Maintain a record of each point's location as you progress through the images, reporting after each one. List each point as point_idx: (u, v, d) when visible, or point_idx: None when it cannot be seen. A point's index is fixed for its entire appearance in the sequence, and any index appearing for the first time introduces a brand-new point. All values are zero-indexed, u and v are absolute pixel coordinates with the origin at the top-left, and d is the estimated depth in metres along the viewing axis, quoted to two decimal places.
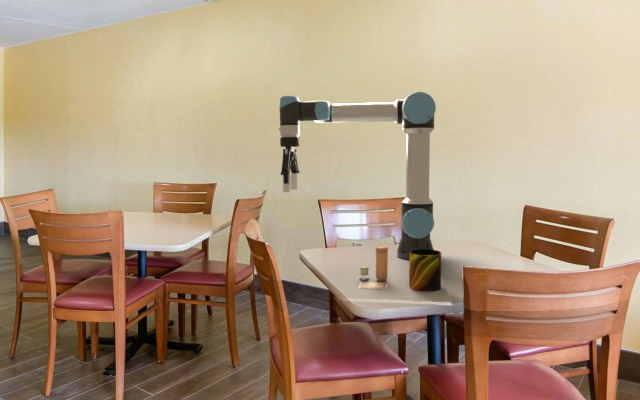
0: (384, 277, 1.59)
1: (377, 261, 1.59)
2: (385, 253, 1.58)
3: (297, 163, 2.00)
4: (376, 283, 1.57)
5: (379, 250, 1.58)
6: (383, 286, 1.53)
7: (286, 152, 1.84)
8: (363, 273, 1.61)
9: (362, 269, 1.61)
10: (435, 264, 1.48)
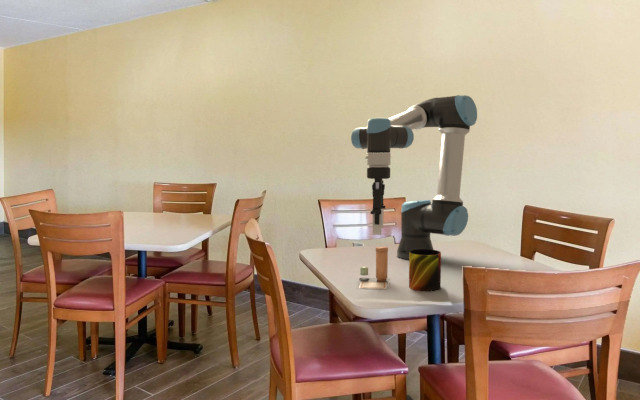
0: (384, 277, 1.59)
1: (377, 261, 1.59)
2: (385, 253, 1.58)
3: None
4: (376, 283, 1.57)
5: (379, 250, 1.58)
6: (383, 286, 1.53)
7: (377, 186, 1.52)
8: (363, 273, 1.61)
9: (362, 269, 1.61)
10: (435, 264, 1.48)
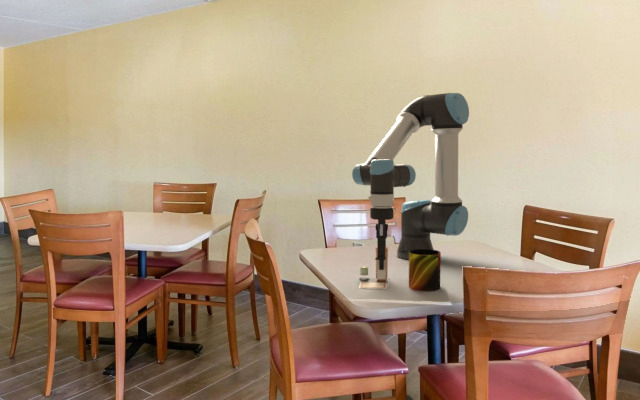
0: None
1: None
2: (385, 253, 1.58)
3: None
4: (376, 283, 1.57)
5: None
6: (383, 286, 1.53)
7: (381, 234, 1.53)
8: (363, 273, 1.61)
9: (362, 269, 1.61)
10: (434, 264, 1.48)
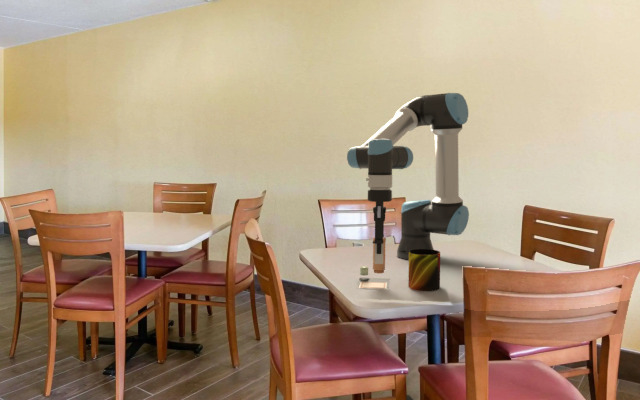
0: (381, 268, 1.53)
1: (374, 252, 1.53)
2: (383, 243, 1.53)
3: None
4: (376, 283, 1.57)
5: None
6: (383, 286, 1.53)
7: (379, 216, 1.47)
8: (363, 273, 1.61)
9: (362, 269, 1.61)
10: (434, 264, 1.48)
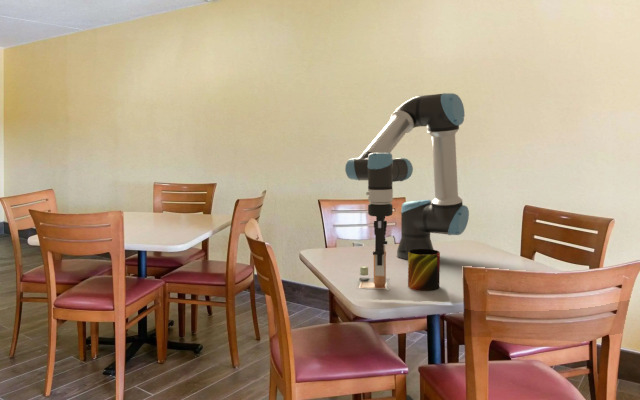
0: (383, 282, 1.52)
1: None
2: (384, 257, 1.51)
3: None
4: None
5: None
6: None
7: (380, 225, 1.45)
8: (363, 273, 1.61)
9: (362, 269, 1.61)
10: (433, 263, 1.48)
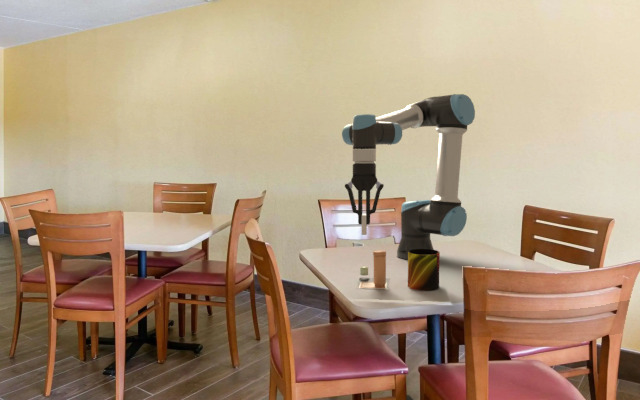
0: (383, 282, 1.52)
1: (375, 266, 1.52)
2: (384, 257, 1.51)
3: (376, 202, 1.58)
4: None
5: (377, 254, 1.51)
6: None
7: (346, 188, 1.60)
8: (363, 273, 1.61)
9: (362, 269, 1.61)
10: (433, 263, 1.48)
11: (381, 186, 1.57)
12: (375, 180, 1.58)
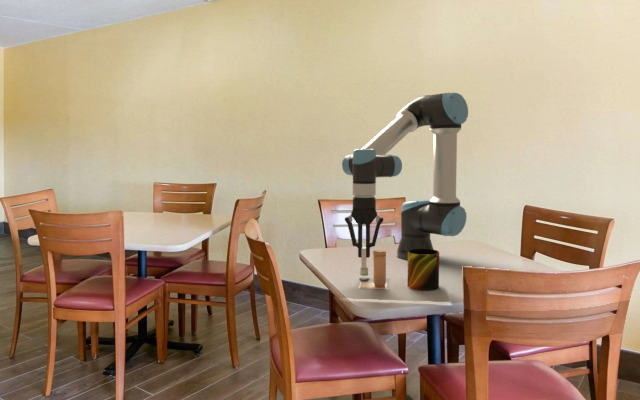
0: (383, 282, 1.52)
1: (375, 266, 1.52)
2: (384, 257, 1.51)
3: (376, 236, 1.59)
4: None
5: (377, 254, 1.51)
6: None
7: None
8: (363, 273, 1.61)
9: (362, 269, 1.61)
10: (433, 263, 1.48)
11: (381, 220, 1.58)
12: (375, 214, 1.59)
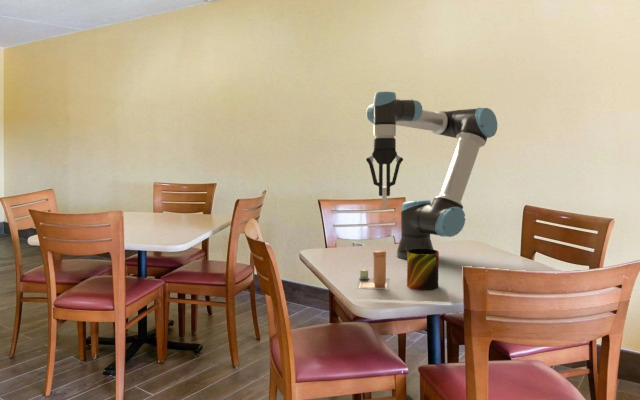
0: (383, 282, 1.52)
1: (375, 266, 1.52)
2: (384, 257, 1.51)
3: (396, 175, 1.68)
4: None
5: (377, 254, 1.51)
6: None
7: None
8: (363, 276, 1.61)
9: (362, 272, 1.61)
10: (432, 263, 1.49)
11: (401, 159, 1.67)
12: (395, 154, 1.67)
